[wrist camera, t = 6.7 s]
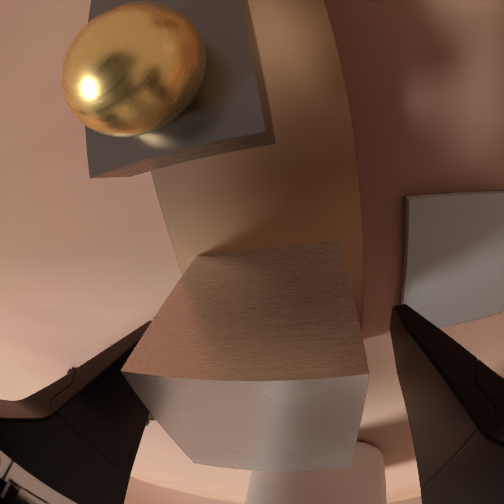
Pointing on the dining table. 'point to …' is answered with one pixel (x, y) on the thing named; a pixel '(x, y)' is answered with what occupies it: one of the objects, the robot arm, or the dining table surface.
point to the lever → (166, 83)
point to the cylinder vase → (324, 483)
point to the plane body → (278, 156)
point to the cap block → (258, 360)
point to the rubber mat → (454, 256)
